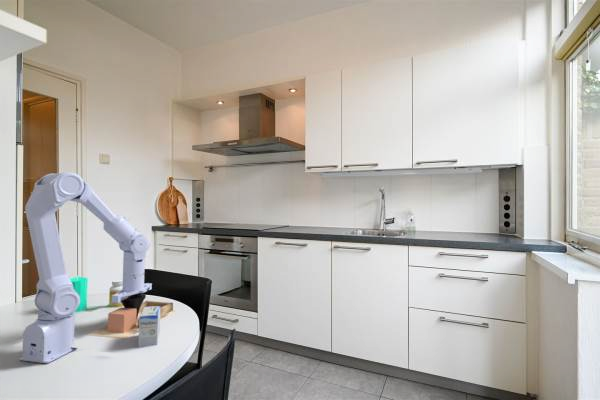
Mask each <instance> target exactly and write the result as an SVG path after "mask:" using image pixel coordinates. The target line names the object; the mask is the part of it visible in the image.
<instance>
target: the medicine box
mask: <svg viewBox="0 0 600 400" xmlns="http://www.w3.org/2000/svg"><path fill="white" fill-rule="evenodd" d="M160 310H161V308H160V306H151V307H144V308H143V310H142V313H141V315H140V318H139V332H138V348H144V347H152V346H158V343H159V336H160V331H161V330H160V329H161V319H160Z"/></svg>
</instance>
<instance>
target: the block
mask: <svg viewBox="0 0 600 400" xmlns="http://www.w3.org/2000/svg"><path fill="white" fill-rule="evenodd" d="M136 314H137V309H134V308H124V307H123V306H121V307H118V308H117V309H114V310H113V311H110V312H108V313H107V315H108V316H107V325H108V331H110V332H120V333H124V332H126V331H128V330H130V329H132V328H133V327H135V326H136Z"/></svg>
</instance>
